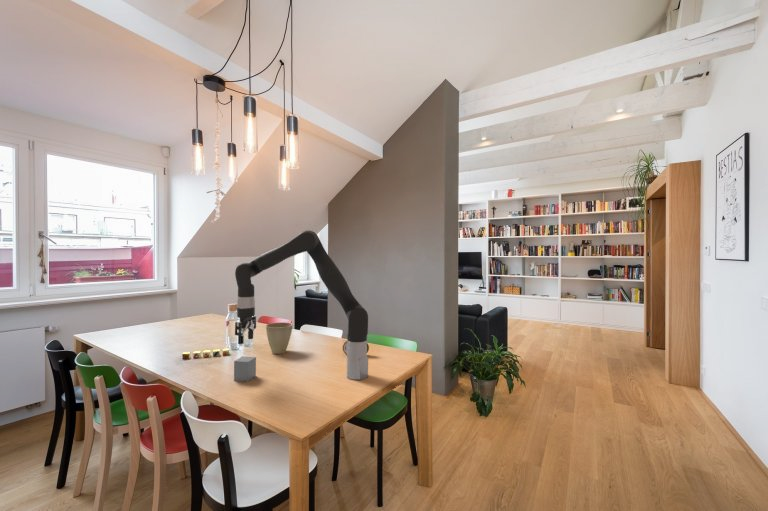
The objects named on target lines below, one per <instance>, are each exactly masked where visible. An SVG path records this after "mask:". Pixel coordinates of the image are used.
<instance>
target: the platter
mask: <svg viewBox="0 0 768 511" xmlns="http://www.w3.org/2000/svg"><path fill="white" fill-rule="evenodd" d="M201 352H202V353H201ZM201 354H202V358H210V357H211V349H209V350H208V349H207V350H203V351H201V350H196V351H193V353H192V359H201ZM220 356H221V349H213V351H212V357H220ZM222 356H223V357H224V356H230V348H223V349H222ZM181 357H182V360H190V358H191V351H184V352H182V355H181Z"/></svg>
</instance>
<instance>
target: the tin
mask: <svg viewBox="0 0 768 511" xmlns="http://www.w3.org/2000/svg"><path fill="white" fill-rule="evenodd" d="M369 350H370V346H369V343H367V353H369ZM342 351H343V353H344V354H345V355H347V340H345V342H344V343H343V345H342Z"/></svg>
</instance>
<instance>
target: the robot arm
mask: <svg viewBox="0 0 768 511" xmlns="http://www.w3.org/2000/svg"><path fill="white" fill-rule="evenodd" d="M302 253H308V255H309V256H310V258H311V259H312V261H313V263H314V266H315V268H316V270H317V273H318V275H319V277H320V279H321V281H322V282H323V284H324V286H325V287H326V289H328V291H329V293H331V295H332V296H333V297H334V298H335V299H336V301H338V303H339V304H340V306H341V307H342V309H343V312H344V313H345V315H346V318H347V320H348V325H347V327H348V328H347V336H346V338H347V340H346V341H347V354H346V377H347V379H350V380H357V381H361V380H364V379H366V378H367V377H369V356H367V354H368V352H367V344H368V341H367V340H368V335H369V334H368V332H369V315H368V312H367V310H366V309H365V308H364V307H363V306H362V305H361V304H360V302H359V301H358V300H357V299H356V298H355V296H354V295H353V293H352V291H351V289H350V286H349V284H348V283H347V280H346V279H345V277H344V275H343V274H342V272H341V271H340V269H339V268H338V266H337V265H336V264H335V262H334V260H332V258H331V257H330V256H329V254H328V253H327V250H326V249H325V248H324V246H323V244H322V241H321V240H320V237H319V236H318V234H317V233H316V232H314V231H313V230H309V229H307V230H304V231H301V232H300V233H299V234H298V235H297V236H295V237H293V238H292V239H291V240H289V241H288V242H286V243H284V244H283V245H280V246H278V247H275V248H272V249H270V250H268V251H267V252H264V253H262V254H260V255H258V256H257V257H255V258H254V259H253V260H251V261H249V262H242V263H239V264H238V265H236V268H235V271H234V273H235V274H234V276H235V282H236V285H237V301H236V302H237V304H236V305H237V306H236V317H237V318H239V321H235V323H234V336H237V343H238V345H243V344H244V343H245V342H244V340H245V339H244V338H245V337H244V335H245V332H246V331H248V333H247V339H248V340H253V339H254V331H255V329H257V316H255V315H256V299H255V285H254V284H253V283H252V278H253V277H256V276H257V275H259V274H260V273H261V272H264V271H265V270H268V269H270V268H272V267H274V266H276V265H278V264H280V263H282V262H283V261H285V260H287V259H288V258H291V257H293V256H295V255H299V254H302Z"/></svg>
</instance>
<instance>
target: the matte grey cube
mask: <svg viewBox="0 0 768 511" xmlns="http://www.w3.org/2000/svg"><path fill="white" fill-rule="evenodd" d="M256 371H257V357H256V356H241V357H240V358H237V359H236V360H233V381H237V382H249V381H251V380H252V379H254V378H255V377H256V376H257V372H256Z"/></svg>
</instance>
